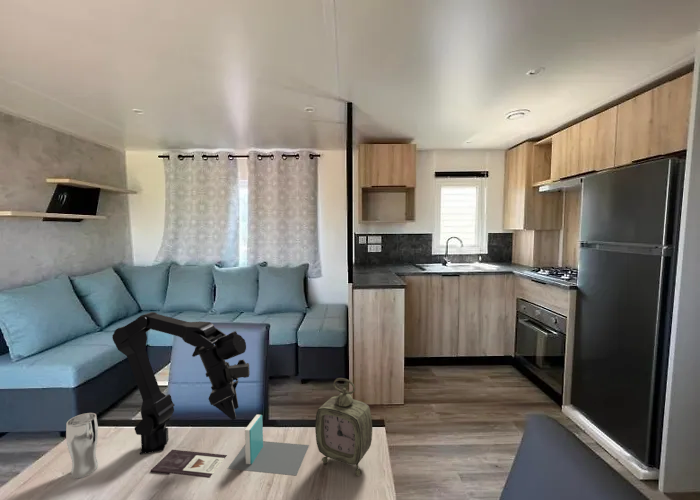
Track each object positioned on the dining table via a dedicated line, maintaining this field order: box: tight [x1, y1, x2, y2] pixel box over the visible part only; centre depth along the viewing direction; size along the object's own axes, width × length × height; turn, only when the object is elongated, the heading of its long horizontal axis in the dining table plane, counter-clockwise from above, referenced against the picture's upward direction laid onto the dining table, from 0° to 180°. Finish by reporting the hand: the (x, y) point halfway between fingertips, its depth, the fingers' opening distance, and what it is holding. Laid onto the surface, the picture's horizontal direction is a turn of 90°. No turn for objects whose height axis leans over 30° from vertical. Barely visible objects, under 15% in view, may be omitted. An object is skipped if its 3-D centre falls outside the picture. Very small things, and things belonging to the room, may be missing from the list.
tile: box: [244, 414, 264, 464], centre depth 100 cm, size 2×8×10 cm, turn 171°
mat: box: [227, 440, 310, 476], centre depth 99 cm, size 20×13×1 cm, turn 81°
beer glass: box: [65, 412, 99, 479], centre depth 94 cm, size 7×7×15 cm
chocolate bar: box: [150, 449, 228, 478], centre depth 97 cm, size 9×1×18 cm
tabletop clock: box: [314, 377, 373, 477], centre depth 96 cm, size 14×9×25 cm, turn 62°
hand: (235, 413), depth 99 cm, fingers open, 9 cm apart
